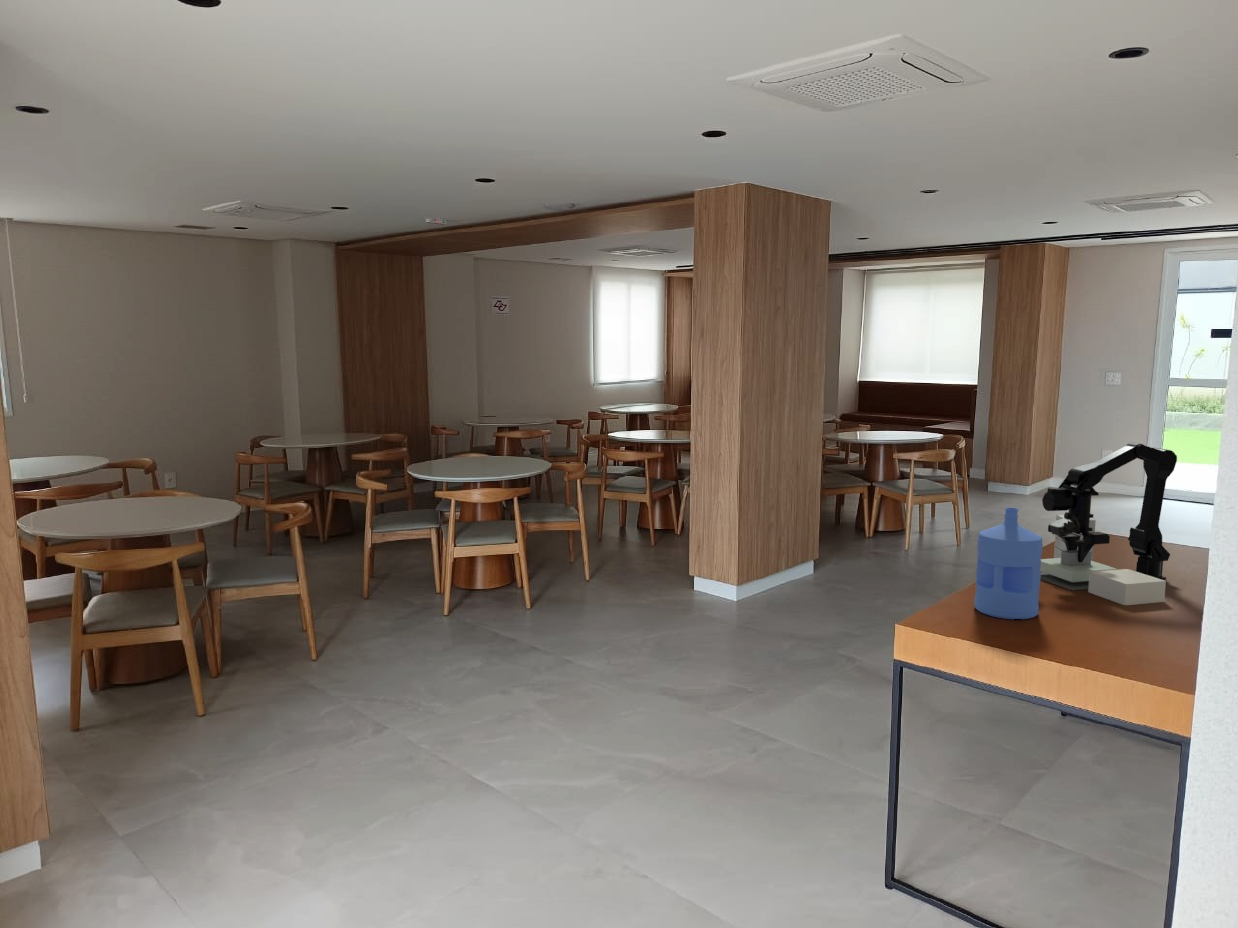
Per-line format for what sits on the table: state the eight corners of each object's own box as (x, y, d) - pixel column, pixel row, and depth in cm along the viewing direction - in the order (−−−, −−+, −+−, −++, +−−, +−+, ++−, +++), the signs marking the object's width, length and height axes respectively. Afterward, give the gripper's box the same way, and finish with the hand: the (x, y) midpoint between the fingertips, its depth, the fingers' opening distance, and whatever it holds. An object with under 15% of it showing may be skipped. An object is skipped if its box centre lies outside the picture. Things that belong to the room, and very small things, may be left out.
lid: (1077, 565, 261) (1079, 543, 260) (1116, 578, 246) (1117, 555, 245) (1035, 568, 257) (1036, 546, 256) (1072, 582, 243) (1073, 558, 242)
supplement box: (1081, 558, 278) (1084, 514, 276) (1093, 565, 269) (1096, 519, 267) (1052, 557, 279) (1055, 514, 277) (1064, 564, 270) (1067, 519, 268)
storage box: (1126, 588, 243) (1127, 568, 242) (1164, 601, 230) (1165, 580, 229) (1088, 592, 240) (1089, 571, 239) (1124, 605, 227) (1126, 584, 226)
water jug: (987, 599, 234) (993, 501, 230) (1047, 611, 223) (1053, 508, 219) (964, 611, 223) (969, 509, 219) (1025, 624, 212) (1032, 517, 208)
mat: (1077, 570, 263) (1077, 569, 263) (1123, 586, 245) (1123, 584, 245) (1028, 574, 259) (1028, 573, 259) (1071, 590, 241) (1071, 589, 241)
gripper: (1034, 505, 256) (1031, 555, 258) (1080, 517, 238) (1076, 570, 240) (1065, 503, 259) (1062, 552, 261) (1112, 515, 241) (1109, 567, 243)
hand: (1076, 560), depth 251 cm, fingers closed on lid, 3 cm apart
